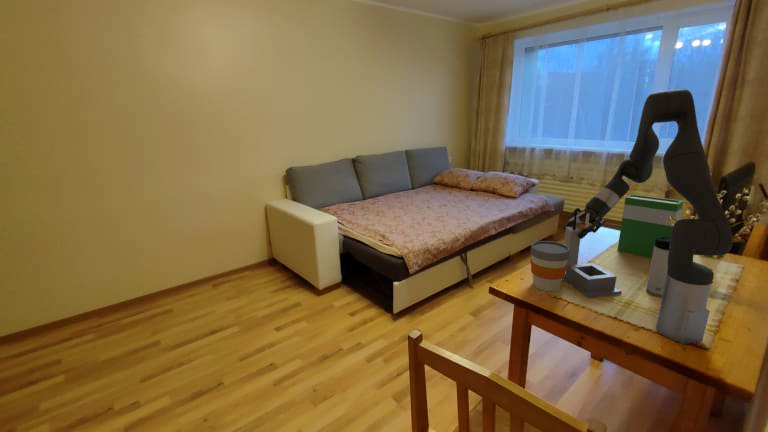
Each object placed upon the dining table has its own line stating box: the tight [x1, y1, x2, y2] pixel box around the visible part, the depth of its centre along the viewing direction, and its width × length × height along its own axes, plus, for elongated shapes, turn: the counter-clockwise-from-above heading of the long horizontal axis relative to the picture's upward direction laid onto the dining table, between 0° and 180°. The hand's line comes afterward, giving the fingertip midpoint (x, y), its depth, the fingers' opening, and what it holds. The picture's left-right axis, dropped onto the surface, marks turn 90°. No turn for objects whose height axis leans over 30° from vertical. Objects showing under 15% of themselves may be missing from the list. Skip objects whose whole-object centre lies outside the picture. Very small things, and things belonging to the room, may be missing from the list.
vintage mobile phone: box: [564, 208, 581, 266], centre depth 136 cm, size 4×5×25 cm
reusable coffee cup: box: [530, 240, 569, 292], centre depth 125 cm, size 13×13×15 cm
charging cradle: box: [562, 262, 622, 299], centre depth 125 cm, size 16×12×6 cm
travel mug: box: [645, 237, 670, 298], centre depth 116 cm, size 6×7×20 cm
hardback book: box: [617, 194, 684, 259], centre depth 147 cm, size 18×7×24 cm, turn 39°
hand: (571, 233), depth 135 cm, fingers open, 8 cm apart
